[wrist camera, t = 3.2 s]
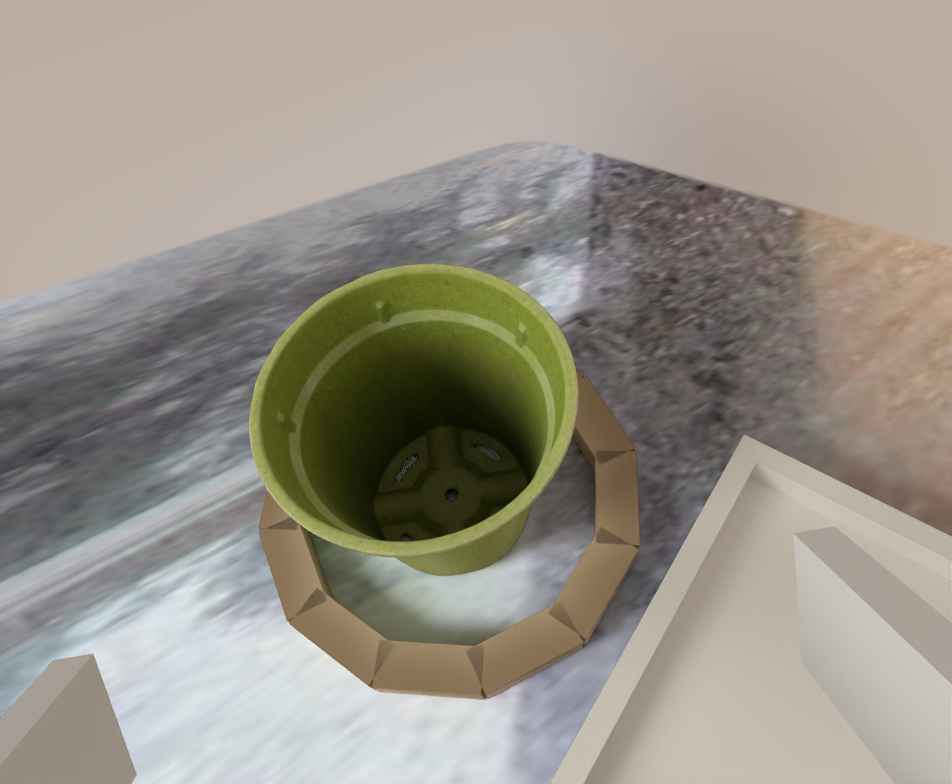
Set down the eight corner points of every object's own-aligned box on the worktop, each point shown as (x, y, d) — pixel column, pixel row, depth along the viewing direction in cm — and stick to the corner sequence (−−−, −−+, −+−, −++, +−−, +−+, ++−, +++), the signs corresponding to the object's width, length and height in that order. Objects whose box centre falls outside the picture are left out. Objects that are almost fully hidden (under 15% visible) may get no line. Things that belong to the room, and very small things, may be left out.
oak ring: (202, 554, 27) (188, 544, 26) (416, 303, 32) (411, 287, 31) (502, 788, 22) (499, 788, 21) (699, 448, 27) (705, 434, 26)
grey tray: (529, 823, 22) (526, 825, 20) (732, 457, 27) (744, 434, 25) (1053, 1238, 16) (1112, 1291, 15) (1178, 684, 22) (1232, 674, 20)
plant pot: (486, 680, 24) (453, 628, 16) (285, 538, 27) (180, 442, 20) (617, 464, 27) (639, 340, 20) (424, 362, 31) (380, 222, 23)
